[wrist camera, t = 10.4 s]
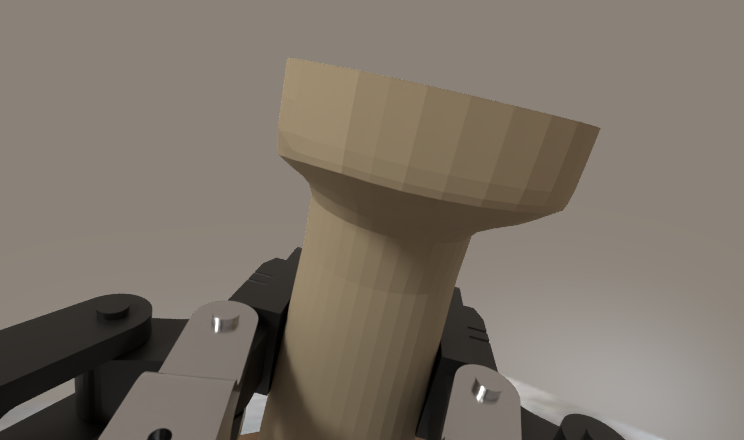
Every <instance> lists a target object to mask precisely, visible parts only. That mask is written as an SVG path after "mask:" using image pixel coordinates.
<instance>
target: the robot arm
mask: <svg viewBox="0 0 744 440" xmlns="http://www.w3.org/2000/svg"><path fill="white" fill-rule="evenodd" d="M301 252H302V248H300V247H297V248H296V249H295V250H294V252H293V253H292V254H291V255H290V256H289V258H288V259H287V260H283V259H279V258H275V259H272V260H270V261H267V262H265V263H263V264H262V265H261V266H260V267H259V268H258V269H257V270H256V272H255V273H254V274H252V275H251V277H250V278H249V280H247V281H246V282H245V283H244V284H243V285H242V286H241V287H240V288H239V289H238V290H237V291H236V292H235V293H234V294H233V295H232V297H231V298H230V299H229V300H228V301H216V302H212V303H208V304H206V305H203V306H201V307H200V308H198V309H197V310H196V311H195V312H194V313H193V314H192V316H191V318H190V319H160V318H152V306H151V304H150V302H149V301H147V300H146V299H144V298H142V297H140V296H136V295H131V294H111V295H104V296H100V297H96V298H93V299H90V300H88V301H84V302H81V303H78V304H76V305H73V306H70V307H67V308H64V309H61V310H58V311H55V312H52V313H49V314H46V315H43V316H41V317H38V318H35V319H32V320H29V321H26V322H23V323H20V324H17V325H14V326H11V327H8V328H5V329H3V330H0V419H1V418H2V417H3V416H4V415H5V414H6V413H7V412H9V411H10V410H11V409H13V408H14V407H16V406H18V405H20V404H22V403H24V402H26V401H28V400H30V399H32V398H34V397H36V396H37V395H40V394H42V393H44V392H46V391H48V390H50V389H52V388H54V387H56V386H58V385H60V384H63V383H64V382H67V381H69V380H71V379H72V378H75V393H74V394H72V395H70V396H68V397H66V398H64V399H62V400H60V401H58V402H56V403H54V404H53V405H51V406H49V407H47V408H45V409H43V410H41V411H39V412H37V413H35V414H33V415H31V416H29V417H27V418H26V419H24V420H22V421H20V422H18V423H16V424H14V425H12V426H10V427H8V428H6V429H4V430H2V431H0V440H239V437H240V433H241V429H242V425H243V422H244V418H245V412H246V406H247V405H248V403H249V401H250V400H251V398H252V396H253V394H254V393H259V394H262V395H266V396H267V395H268V393H269V391H270V388H271V384H272V379H273V375H274V371H275V366H276V362H277V357H278V353H279V348H280V344H281V339H282V335H283V331H284V326H285V322H286V318H287V313H288V309H289V304H290V300H291V296H292V291H293V287H294V282H295V278H296V274H297V269H298V265H299V260H300V256H301ZM415 437H418V438H422V439H426V440H625V439H624V438H623V437H622V436H621V435H619V434H618V433H617V432H616V431H615V430H613V429H612V428H610V427H609V426H607V425H606V424H604V423H602V422H600V421H599V420H597V419H594V418H592V417H589V416H586V415H582V414H570V415H567V416H566V417H564V419H563V421H562V423H561V425H560V427H559V426H557V425H555V424H553V423H551V422H549V421H547V420H545V419H543V418H541V417H539V416H537V415H535V414H533V413H531V412H529V411H528V410H526V409H525V408H523V407H522V406H521V405H520V397H519V394H518V392H517V390H516V388H515V387H514V386H513V385H512V383H511V382H510V381H509V380H507V379H506V378H505V377H504V376H502V375H501V374H499V373H498V371H497V367H496V364H495V360H494V357H493V353H492V349H491V346H490V343H489V338H488V335H487V333H486V328H485V324H484V321H483V319H482V318H481V317H480V315H479V314H478V313H477V312H476V311H475V309H474V308H471V307H467V306H463V303H462V298H461V293H460V289H459V288H457V287H454V291H453V295H452V298H451V302H450V306H449V310H448V314H447V317H446V321H445V325H444V329H443V333H442V336H441V340H440V344H439V348H438V352H437V355H436V359H435V363H434V366H433V370H432V374H431V378H430V381H429V385H428V389H427V393H426V397H425V401H424V404H423V408H422V411H421V415H420V418H419V422H418V425H417V429H416V432H415Z"/></svg>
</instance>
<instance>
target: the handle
mask: <svg viewBox="0 0 744 440" xmlns="http://www.w3.org/2000/svg"><path fill="white" fill-rule="evenodd" d="M599 130H600V128H599V127H596V126H592V125H589V124H585V123H582V122H578V121H574V120H570V119H566V118H562V117H558V116H555V115H550V114H546V113H542V112H538V111H534V110H530V109H526V108H521V107H518V106H514V105H509V104H504V103H501V102H497V101H492V100H488V99H484V98H480V97H476V96H471V95H467V94H463V93H458V92H454V91H450V90H446V89H441V88H437V87H433V86H428V85H423V84H419V83H415V82H410V81H406V80H401V79H397V78H392V77H388V76H383V75H379V74H374V73H369V72H364V71H360V70H355V69H349V68H344V67H339V66H333V65H328V64H322V63H317V62H312V61H306V60H300V59H294V58H287V64H286V71H285V78H284V86H283V94H282V100H281V108H280V116H279V123H278V133H277V142H278V143H277V144H278V147H277V149H278V150H277V151H278V153H279V155H280V156H281V157H282V158H283V159H284V160H285V161H286V162H287V163H288V164H289V165H290V166H292V167H293V168H294V169H295V170H296V171H298V172H299V173H300V174H301V175H303V176H304V178H305V179H306V180H307V181H308V182H309V184H310V188H311V192H312V195H311V202H310V208H309V214H308V220H307V226H306V232H305V238H304V243H303V248H302V252H301V256H300V260H299V265H298V269H297V274H296V278H295V282H294V287H293V291H292V296H291V300H290V304H289V309H288V313H287V318H286V322H285V326H284V331H283V335H282V339H281V344H280V348H279V353H278V357H277V362H276V366H275V371H274V375H273V379H272V384H271V388H270V391H269V394H268V398H267V402H266V406H265V411H264V415H263V419H262V423H261V427H260V431H259V436H258V440H415V438H416V437H415V432H416V429H417V425H418V422H419V418H420V415H421V411H422V408H423V404H424V401H425V397H426V393H427V389H428V385H429V381H430V378H431V374H432V370H433V366H434V363H435V359H436V355H437V352H438V348H439V344H440V340H441V336H442V333H443V329H444V325H445V321H446V317H447V314H448V310H449V306H450V302H451V298H452V295H453V291H454V287H455V283H456V279H457V276H458V273H459V270H460V268H461V264H462V262H463V259H464V256H465V253H466V250H467V248H468V245H469V242H470V239H471V236H472V235H474V234H475V233H476V232H480V231H485V230H489V229H493V228H500V227H507V226H514V225H519V224H522V223H526V222H529V221H533V220H536V219H539V218H542V217H545V216H548V215H550V214H553V213H556V212H559V211H562V210H563V209H564V208H565V207H566V205H567V204H568V202H569V200H570V198H571V197H572V195H573V193H574V191H575V189H576V186H577V184H578V182H579V179H580V177H581V174H582V172H583V170H584V167H585V165H586V163H587V160H588V158H589V155H590V153H591V150H592V147H593V145H594V143H595V140H596V138H597V136H598V133H599Z"/></svg>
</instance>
